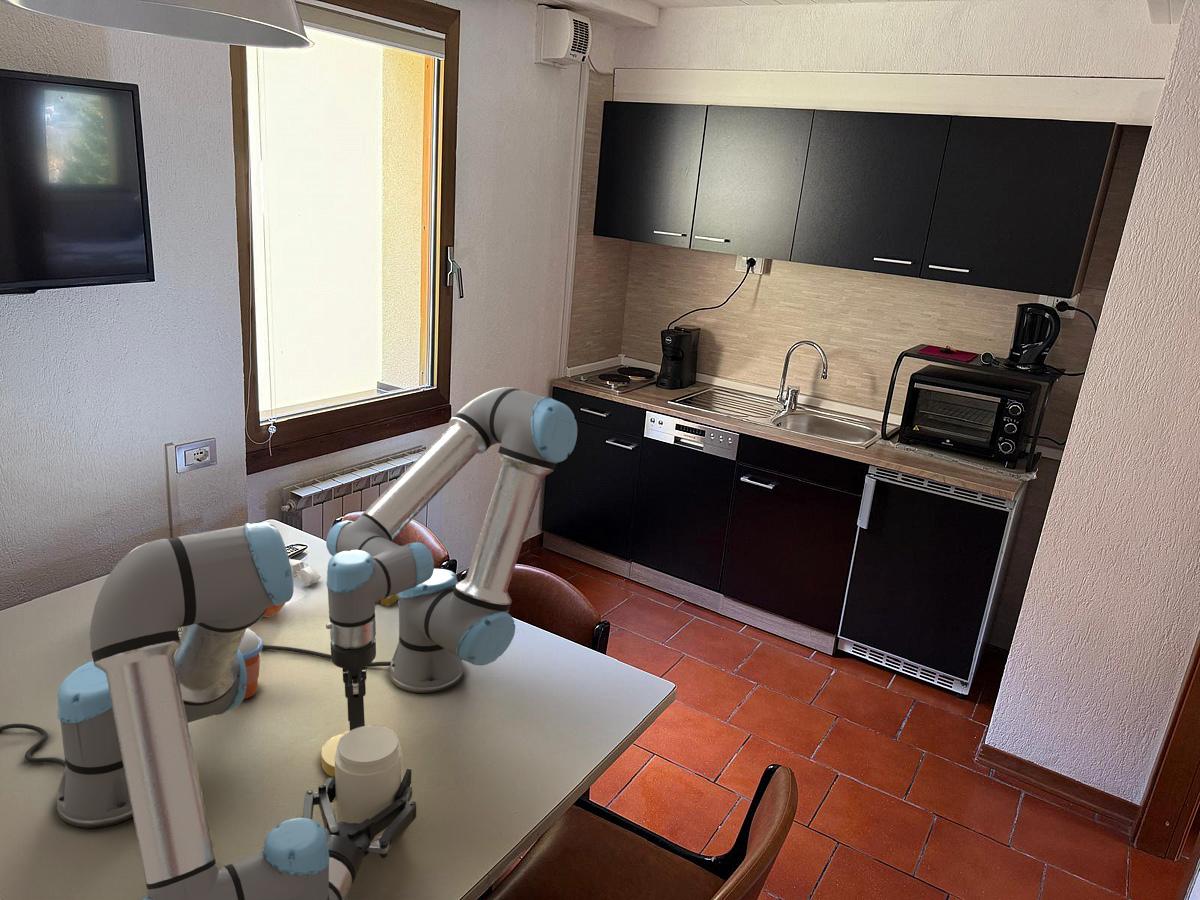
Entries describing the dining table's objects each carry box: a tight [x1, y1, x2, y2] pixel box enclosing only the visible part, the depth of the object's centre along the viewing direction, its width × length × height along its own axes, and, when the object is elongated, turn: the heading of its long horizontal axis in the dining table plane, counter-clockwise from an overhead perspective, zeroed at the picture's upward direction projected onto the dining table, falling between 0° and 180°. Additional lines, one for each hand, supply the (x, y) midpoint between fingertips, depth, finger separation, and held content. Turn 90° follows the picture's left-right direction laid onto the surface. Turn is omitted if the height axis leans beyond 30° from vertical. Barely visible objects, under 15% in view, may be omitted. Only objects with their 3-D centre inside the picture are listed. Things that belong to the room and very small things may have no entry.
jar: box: [334, 725, 402, 842], centre depth 137 cm, size 10×10×16 cm
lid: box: [320, 730, 350, 778], centre depth 154 cm, size 11×11×2 cm
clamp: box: [289, 558, 322, 587], centre depth 219 cm, size 20×4×7 cm, turn 62°
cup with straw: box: [239, 628, 264, 700], centre depth 168 cm, size 9×9×18 cm
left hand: (376, 772), depth 142 cm, fingers closed on jar, 10 cm apart
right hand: (357, 742), depth 154 cm, fingers open, 13 cm apart
